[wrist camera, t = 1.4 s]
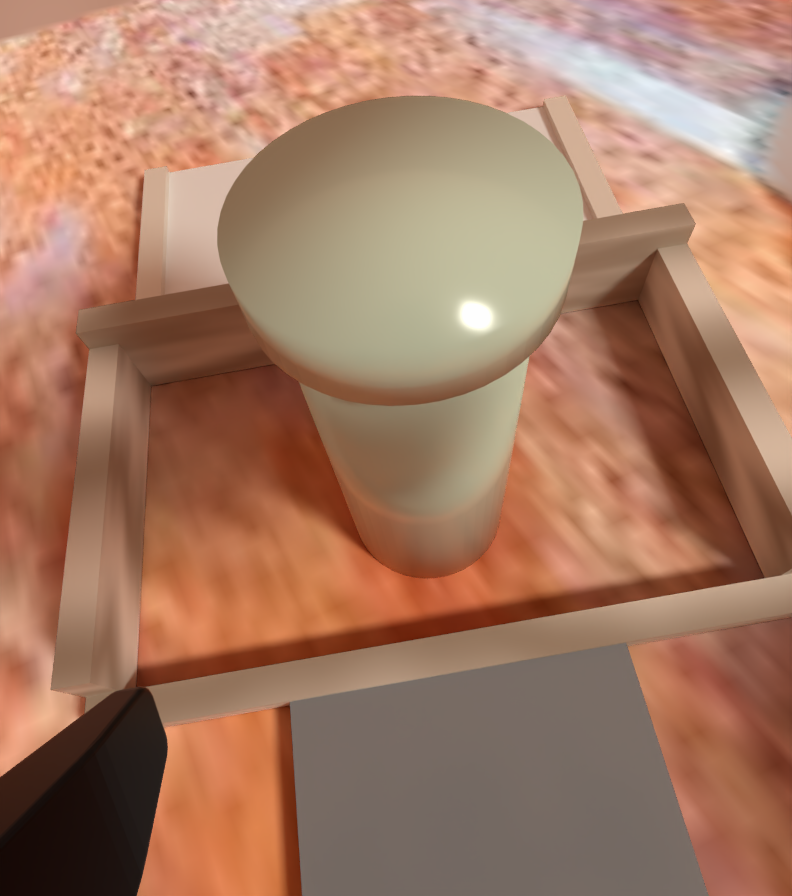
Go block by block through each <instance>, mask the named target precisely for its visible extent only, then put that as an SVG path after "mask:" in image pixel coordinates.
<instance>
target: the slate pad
mask: <svg viewBox="0 0 792 896" xmlns="http://www.w3.org/2000/svg"><path fill="white" fill-rule="evenodd" d="M290 714H291V729H292V745H293V761H294V776H295V792H296V808H297V823H298V839H299V855H300V870H301V886H302V896H709V895H708V892H707V889H706V886H705V883H704V880H703V877H702V874H701V871H700V868H699V865H698V862H697V859H696V856H695V853H694V849H693V846H692V843H691V840H690V837H689V834H688V831H687V828H686V825H685V822H684V819H683V816H682V813H681V810H680V807H679V803H678V800H677V797H676V794H675V791H674V788H673V785H672V782H671V779H670V776H669V773H668V770H667V767H666V764H665V761H664V757H663V754H662V751H661V748H660V745H659V742H658V739H657V736H656V733H655V730H654V727H653V724H652V721H651V718H650V715H649V712H648V708H647V705H646V702H645V699H644V696H643V693H642V690H641V687H640V684H639V681H638V678H637V675H636V672H635V669H634V666H633V662H632V659H631V656H630V653H629V650H628V647H627V644H626V643H622V644H617V645H611V646H605V647H600V648H594V649H588V650H582V651H577V652H571V653H565V654H560V655H554V656H548V657H542V658H537V659H531V660H525V661H520V662H514V663H508V664H503V665H497V666H491V667H485V668H480V669H474V670H468V671H463V672H457V673H451V674H446V675H440V676H434V677H428V678H423V679H417V680H411V681H406V682H400V683H394V684H389V685H383V686H377V687H371V688H366V689H360V690H354V691H349V692H343V693H337V694H331V695H326V696H320V697H314V698H309V699H303V700H297V701H292V702H290Z"/></svg>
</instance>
